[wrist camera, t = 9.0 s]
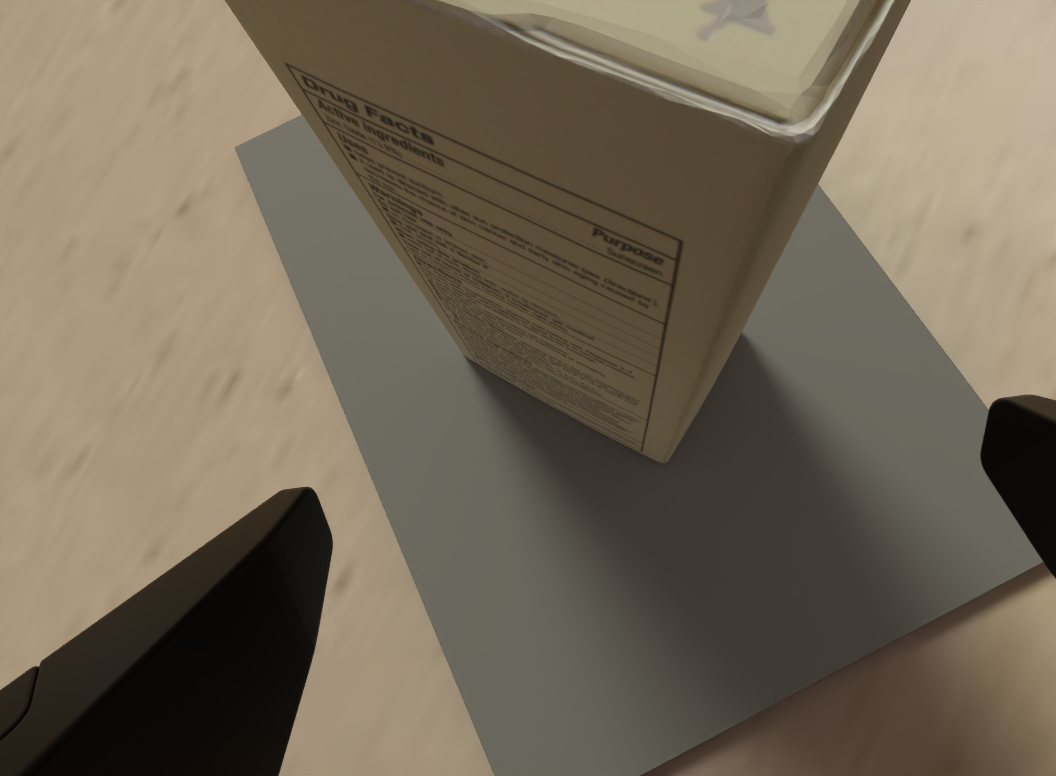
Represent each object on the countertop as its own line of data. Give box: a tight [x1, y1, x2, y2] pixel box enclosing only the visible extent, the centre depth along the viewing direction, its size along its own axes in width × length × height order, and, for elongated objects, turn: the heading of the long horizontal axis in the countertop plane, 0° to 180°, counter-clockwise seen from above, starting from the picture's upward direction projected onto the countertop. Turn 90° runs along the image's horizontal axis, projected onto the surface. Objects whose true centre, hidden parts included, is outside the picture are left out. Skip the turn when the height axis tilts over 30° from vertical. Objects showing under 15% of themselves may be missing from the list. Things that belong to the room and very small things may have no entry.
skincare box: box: [225, 0, 911, 463], centre depth 11 cm, size 6×4×12 cm
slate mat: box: [235, 115, 1043, 776], centre depth 17 cm, size 20×14×1 cm
